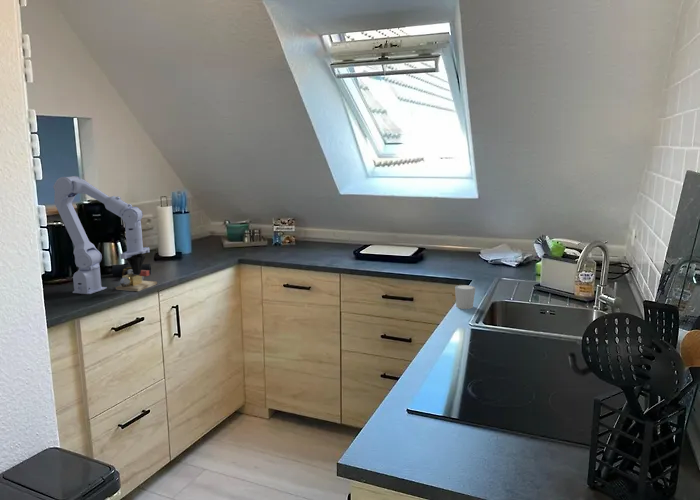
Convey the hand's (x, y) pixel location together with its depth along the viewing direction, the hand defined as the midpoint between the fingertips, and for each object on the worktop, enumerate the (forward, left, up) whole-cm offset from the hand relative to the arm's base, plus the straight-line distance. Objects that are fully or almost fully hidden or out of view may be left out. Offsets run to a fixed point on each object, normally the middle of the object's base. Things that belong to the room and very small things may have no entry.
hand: (137, 274), depth 209 cm
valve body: (+4, +6, -6) cm, 10 cm away
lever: (+4, +3, -2) cm, 6 cm away
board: (+4, +4, -6) cm, 9 cm away
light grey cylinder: (+12, -123, -7) cm, 124 cm away
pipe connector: (+18, +18, -7) cm, 26 cm away
